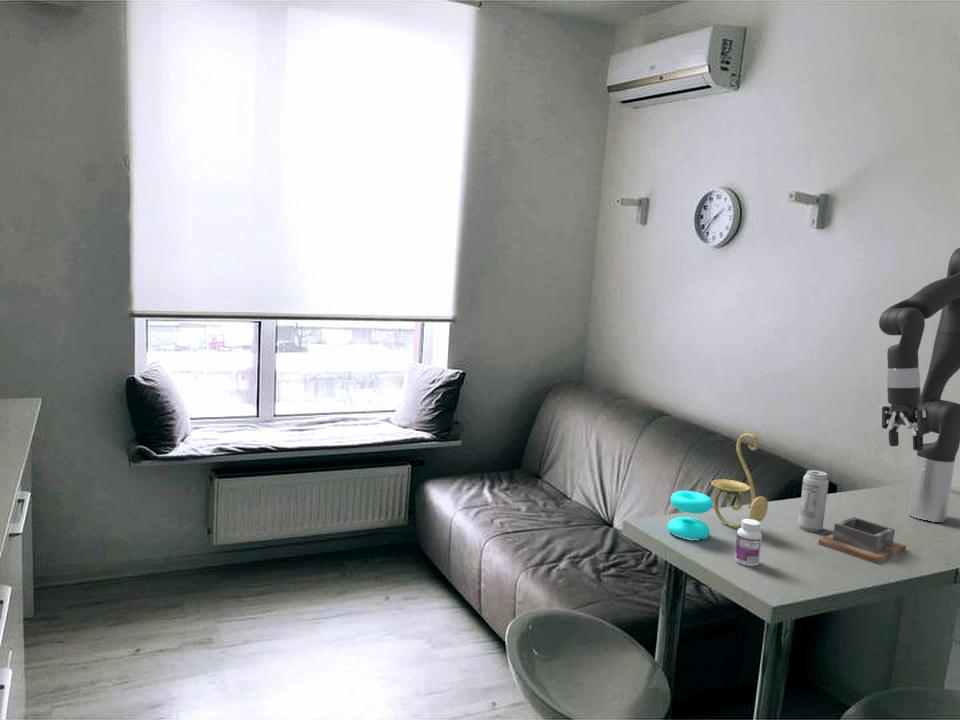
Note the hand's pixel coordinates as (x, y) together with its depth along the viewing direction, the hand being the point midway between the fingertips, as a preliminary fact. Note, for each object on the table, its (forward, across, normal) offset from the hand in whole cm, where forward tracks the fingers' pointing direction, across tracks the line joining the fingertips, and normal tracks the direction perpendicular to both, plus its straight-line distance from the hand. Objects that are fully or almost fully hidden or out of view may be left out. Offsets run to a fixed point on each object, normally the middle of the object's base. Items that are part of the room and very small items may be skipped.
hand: (905, 448), depth 206 cm
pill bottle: (+20, -16, +55) cm, 60 cm away
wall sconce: (+18, +6, +46) cm, 50 cm away
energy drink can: (+20, +5, +25) cm, 32 cm away
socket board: (+22, -8, +19) cm, 30 cm away
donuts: (+17, +2, +61) cm, 63 cm away
